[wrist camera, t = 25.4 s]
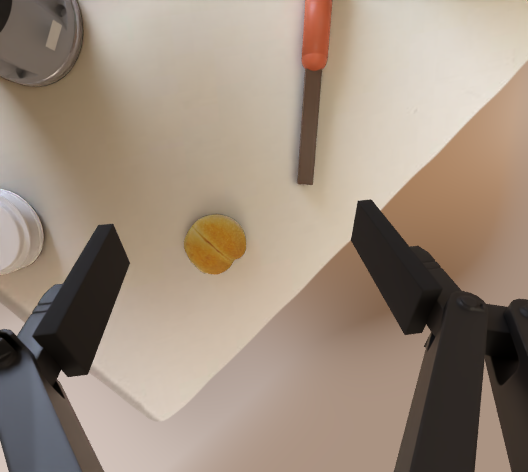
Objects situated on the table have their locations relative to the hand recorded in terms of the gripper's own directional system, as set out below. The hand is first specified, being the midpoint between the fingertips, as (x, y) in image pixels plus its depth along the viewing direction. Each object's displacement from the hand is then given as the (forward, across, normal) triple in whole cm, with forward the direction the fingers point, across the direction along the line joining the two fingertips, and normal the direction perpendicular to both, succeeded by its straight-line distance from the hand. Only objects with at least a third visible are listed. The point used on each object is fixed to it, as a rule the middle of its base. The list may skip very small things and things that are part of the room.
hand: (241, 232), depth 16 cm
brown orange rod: (+29, +11, +2) cm, 31 cm away
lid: (+28, -36, -16) cm, 49 cm away
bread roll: (+22, -4, -18) cm, 29 cm away
